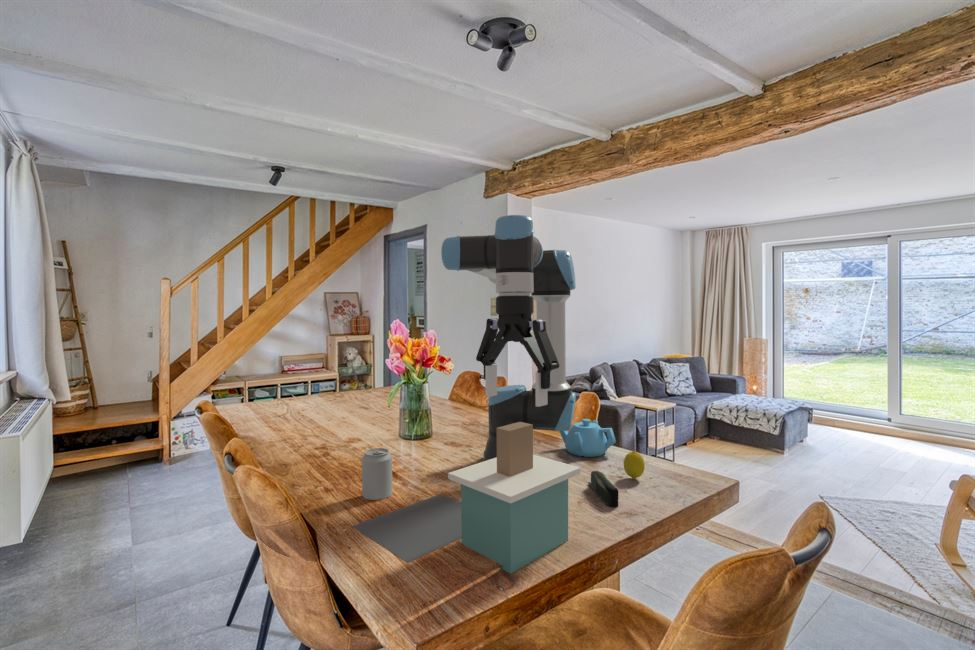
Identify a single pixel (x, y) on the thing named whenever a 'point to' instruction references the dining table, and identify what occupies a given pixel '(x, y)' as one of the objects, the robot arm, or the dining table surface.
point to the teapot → (588, 439)
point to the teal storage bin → (515, 525)
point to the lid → (514, 467)
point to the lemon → (634, 464)
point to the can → (376, 474)
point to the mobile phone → (604, 488)
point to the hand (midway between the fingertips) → (515, 400)
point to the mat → (416, 527)
